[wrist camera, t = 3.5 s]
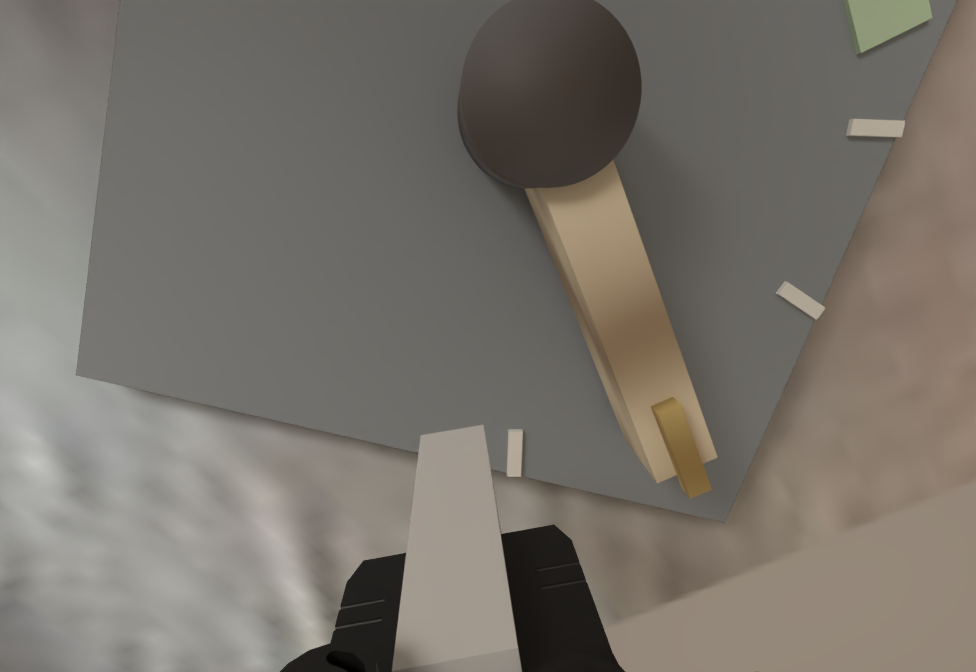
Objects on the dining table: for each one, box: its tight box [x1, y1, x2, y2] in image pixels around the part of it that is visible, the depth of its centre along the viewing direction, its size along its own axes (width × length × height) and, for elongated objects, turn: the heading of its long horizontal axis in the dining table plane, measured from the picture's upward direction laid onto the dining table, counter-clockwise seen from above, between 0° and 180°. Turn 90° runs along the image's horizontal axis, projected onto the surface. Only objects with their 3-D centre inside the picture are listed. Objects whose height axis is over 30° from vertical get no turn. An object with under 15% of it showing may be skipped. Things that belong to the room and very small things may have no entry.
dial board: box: [76, 0, 957, 523], centre depth 17 cm, size 24×24×2 cm
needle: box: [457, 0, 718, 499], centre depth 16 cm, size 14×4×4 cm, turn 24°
